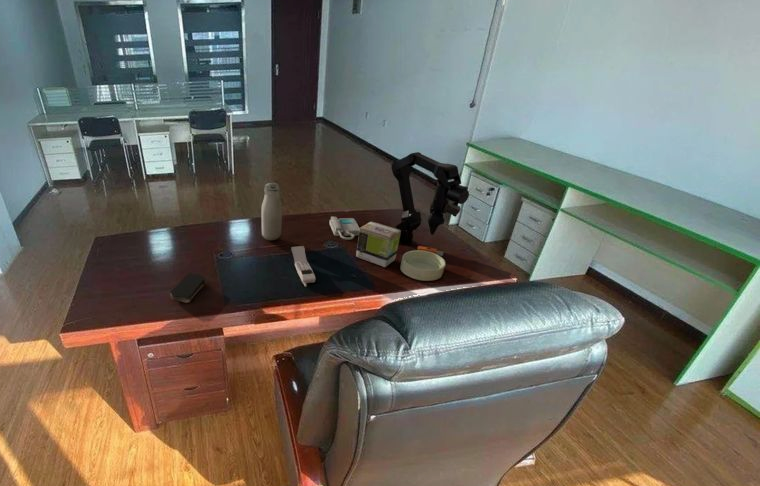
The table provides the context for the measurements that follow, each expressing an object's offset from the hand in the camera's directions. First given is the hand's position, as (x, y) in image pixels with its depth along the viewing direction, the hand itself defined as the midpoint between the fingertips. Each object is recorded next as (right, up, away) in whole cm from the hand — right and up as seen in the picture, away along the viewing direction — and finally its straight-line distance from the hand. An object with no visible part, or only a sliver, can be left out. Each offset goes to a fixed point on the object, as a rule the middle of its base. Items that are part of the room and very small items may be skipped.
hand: (432, 230), depth 175 cm
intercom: (-33, +3, +26) cm, 42 cm away
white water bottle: (-71, -1, +21) cm, 74 cm away
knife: (+1, -10, +7) cm, 12 cm away
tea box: (-24, -12, +4) cm, 28 cm away
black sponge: (-106, -28, -16) cm, 110 cm away
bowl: (-7, -19, -5) cm, 21 cm away
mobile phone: (-58, -19, -4) cm, 61 cm away
